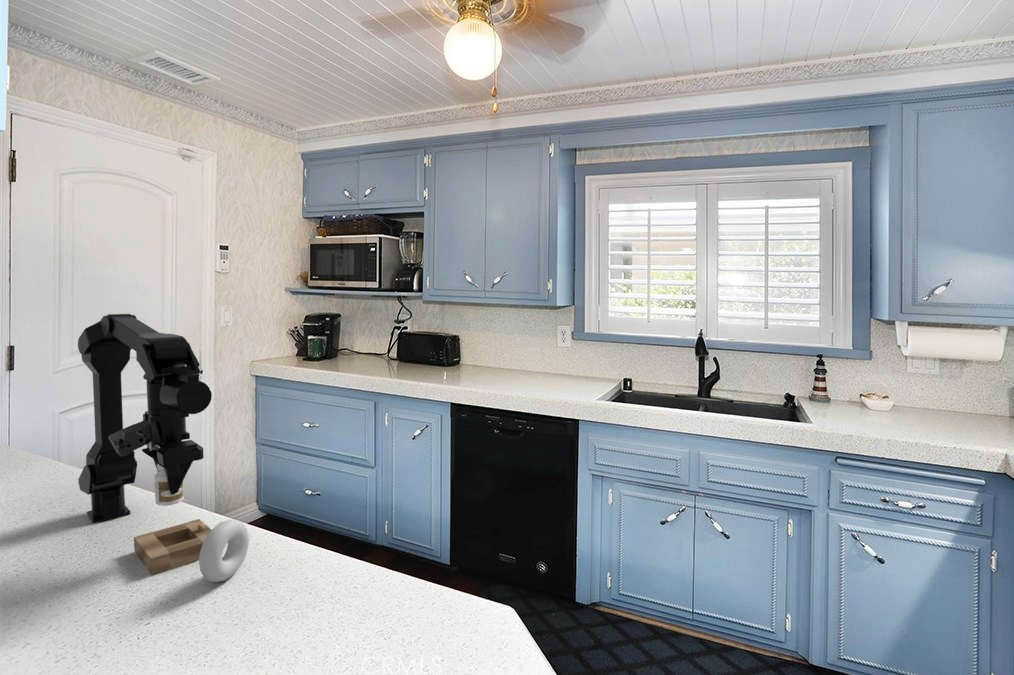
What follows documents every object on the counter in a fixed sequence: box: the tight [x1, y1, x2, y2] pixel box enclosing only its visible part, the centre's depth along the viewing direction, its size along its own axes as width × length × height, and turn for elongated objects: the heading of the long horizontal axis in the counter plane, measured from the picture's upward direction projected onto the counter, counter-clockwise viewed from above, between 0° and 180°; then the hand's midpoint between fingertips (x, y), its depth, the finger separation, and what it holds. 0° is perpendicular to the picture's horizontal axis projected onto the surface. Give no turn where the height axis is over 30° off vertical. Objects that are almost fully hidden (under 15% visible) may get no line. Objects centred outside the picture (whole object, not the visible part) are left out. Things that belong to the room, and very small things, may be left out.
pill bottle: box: [154, 464, 185, 507], centre depth 98 cm, size 4×4×8 cm
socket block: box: [133, 518, 212, 576], centre depth 99 cm, size 11×11×4 cm
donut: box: [198, 519, 250, 583], centre depth 91 cm, size 10×4×10 cm, turn 168°
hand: (170, 489), depth 98 cm, fingers closed on pill bottle, 4 cm apart
